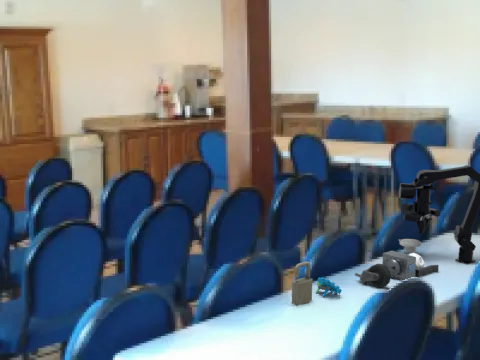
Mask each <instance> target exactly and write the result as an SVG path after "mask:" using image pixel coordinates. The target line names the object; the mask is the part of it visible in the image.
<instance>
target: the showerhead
mask: <svg viewBox="0 0 480 360" xmlns="http://www.w3.org/2000/svg"><path fill="white" fill-rule="evenodd" d="M398 241H399V245H400V246H402V247H404V251H405V252H406V254H407V255H409V254H411V253H415V252H416V248H418V247H421V246H422V242H421V241H420V240H419V239H415V238H402V239H398Z"/></svg>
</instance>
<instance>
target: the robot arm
mask: <svg viewBox="0 0 480 360" xmlns="http://www.w3.org/2000/svg"><path fill="white" fill-rule="evenodd" d="M465 176H466V177H467V176H468V177H469V178H470V179H472V180H473V181H474V182H473V183H474V184H473V194H472V197H471V199H470V201H469V205H468V208H467V210H466V212H465V216H464V218H463V221H462V223H461V224H460V225H456V226H455V229H454V232H453V239H454V240H455V242H456V243H457V245H459V246H460V247H459V249H458V258H456V259H455V262H458V263H462V264H466V265H469V264H472V263H475V262H476V261H477V260H476V259H474V252H475V249H476V248H477V246H476V245H475V244H474V243H473V241H472V236H473V226H474V224H475V221H476V217H477V215H478V212H479V210H480V173H479V172H478V170H475V169H474V168H473V167H472V166H471V165H467V164H465V165H463V166H456V167H451V168H450V167H449V168H446V169H445V168H444V169H438V170H437V169H436V170H435V169H434V170H433V169H421V170H419V171H418V172H417V173H416V177H415V178H414V179H413V181H412V182H411V183H404V182H401V183H399V188H398V198H399V199H400V200H401V199H402V200H403V199H405V200H413V199H414V198H415V197H416V199H415V200H414V201H413V203H412V204H409V203H404V204H403V205H402V210H403V212H405V214H404V215H403V220H405V221H409V222H412V223H416V226H417V229H418V232H419V233H418V234H420V235H424V233H425V231H426V229H427V228H428V225H429V224H430V223H431V221H432V220H433V218H432V217H430V216H432V215H433V216H434V217H436V218H438V217H440V216H441V212H440V210H439V209H436V208H433V207H430V205H432V203H433V202H432V201H431V191H432V190H436V188H435V187H434V185H433V184H434V183H436V182H438V181H441V180H447V179H453V178H459V177H465Z"/></svg>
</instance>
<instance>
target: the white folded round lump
mask: <svg viewBox="0 0 480 360" xmlns="http://www.w3.org/2000/svg"><path fill="white" fill-rule="evenodd" d="M409 255H410V256H414V257H416V269H420V268H423V267H425V260H424V259H423V257H422V256H421V255H419V254H418V253H415V252H412V253H411V254H409Z"/></svg>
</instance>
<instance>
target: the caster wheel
mask: <svg viewBox="0 0 480 360" xmlns="http://www.w3.org/2000/svg"><path fill="white" fill-rule="evenodd" d="M354 276H355V277H359V281H361V285H364V286H365V285H366V284H369V283H370V284H371V285H372V286H374V287H375V288H378V289H380V288H385V287H386V286H388V285H389V284H390V281H391V279H392V277H391V273H390V271H389V269H388V268H387V267H386V266H385V265H383V263H376V264H373V265H371V266H370V267H368V268H367V269H364V270H362V273H359V272H358V273H357V272H355V273H354Z"/></svg>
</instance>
